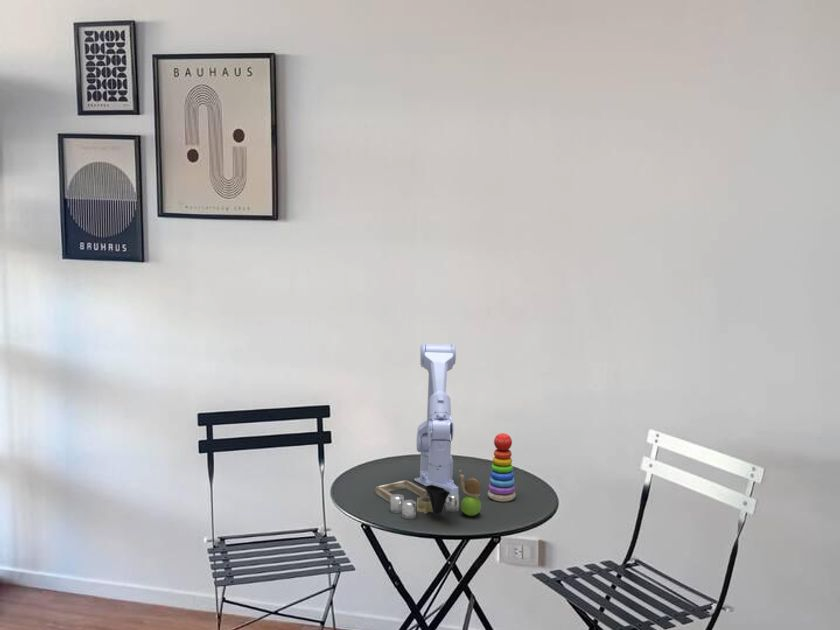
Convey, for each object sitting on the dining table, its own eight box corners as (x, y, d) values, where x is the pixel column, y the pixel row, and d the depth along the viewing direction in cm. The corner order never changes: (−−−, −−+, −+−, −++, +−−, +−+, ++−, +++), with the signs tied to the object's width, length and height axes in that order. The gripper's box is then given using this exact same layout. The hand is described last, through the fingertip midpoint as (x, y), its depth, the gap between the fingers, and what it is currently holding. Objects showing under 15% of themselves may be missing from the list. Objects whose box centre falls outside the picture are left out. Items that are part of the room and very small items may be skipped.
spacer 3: (453, 505, 223) (453, 491, 223) (461, 510, 220) (461, 496, 220) (442, 508, 221) (443, 494, 221) (450, 512, 218) (451, 498, 218)
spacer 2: (410, 512, 217) (410, 498, 217) (418, 517, 214) (418, 503, 214) (399, 515, 215) (399, 501, 215) (407, 520, 212) (407, 505, 212)
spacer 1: (398, 507, 221) (398, 493, 220) (406, 511, 218) (406, 497, 218) (387, 509, 219) (387, 495, 218) (395, 514, 216) (395, 500, 216)
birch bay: (406, 486, 237) (406, 479, 236) (426, 497, 229) (426, 490, 228) (374, 493, 230) (374, 486, 230) (394, 505, 222) (394, 498, 222)
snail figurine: (461, 509, 221) (462, 467, 219) (483, 513, 219) (485, 470, 217) (454, 516, 216) (455, 473, 214) (476, 520, 214) (478, 477, 212)
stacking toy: (518, 494, 233) (521, 432, 230) (511, 504, 225) (514, 439, 223) (492, 490, 236) (495, 428, 233) (484, 499, 228) (486, 435, 225)
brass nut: (428, 505, 223) (428, 494, 223) (437, 510, 220) (437, 500, 219) (413, 509, 220) (413, 498, 220) (422, 514, 217) (422, 503, 216)
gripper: (411, 458, 217) (409, 506, 219) (443, 474, 205) (441, 524, 207) (432, 453, 221) (430, 501, 223) (465, 469, 209) (463, 519, 211)
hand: (437, 512), depth 215 cm, fingers closed
